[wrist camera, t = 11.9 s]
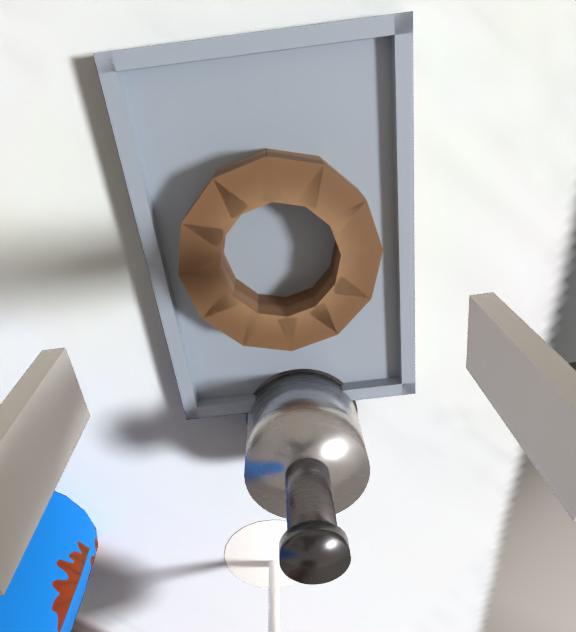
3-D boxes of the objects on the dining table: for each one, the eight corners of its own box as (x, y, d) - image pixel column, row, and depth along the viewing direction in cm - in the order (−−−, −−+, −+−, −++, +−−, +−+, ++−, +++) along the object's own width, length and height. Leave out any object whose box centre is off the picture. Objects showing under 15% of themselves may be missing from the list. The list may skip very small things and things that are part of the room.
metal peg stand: (225, 416, 33) (205, 572, 23) (292, 341, 31) (303, 477, 20) (308, 466, 35) (324, 629, 25) (377, 399, 33) (425, 548, 22)
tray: (190, 404, 32) (186, 419, 31) (103, 54, 24) (93, 53, 22) (408, 378, 32) (415, 393, 31) (404, 14, 23) (412, 11, 22)
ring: (151, 261, 27) (141, 279, 25) (261, 107, 24) (260, 111, 22) (293, 356, 30) (295, 380, 28) (408, 230, 27) (421, 245, 25)
